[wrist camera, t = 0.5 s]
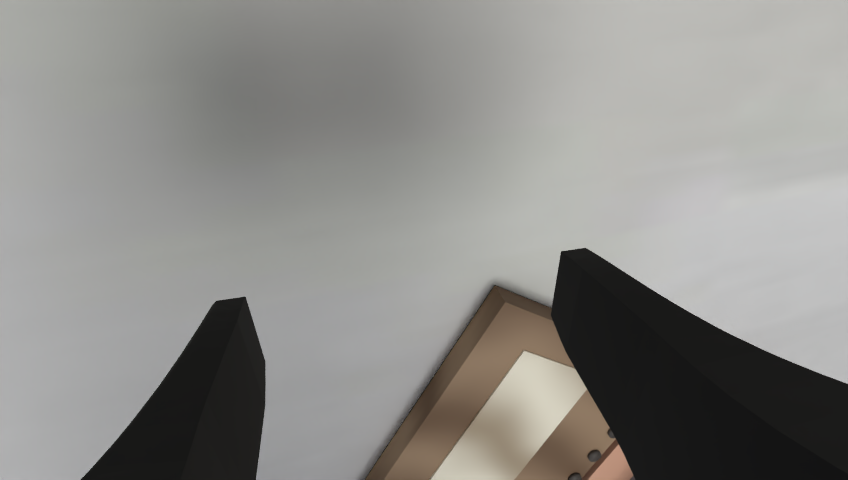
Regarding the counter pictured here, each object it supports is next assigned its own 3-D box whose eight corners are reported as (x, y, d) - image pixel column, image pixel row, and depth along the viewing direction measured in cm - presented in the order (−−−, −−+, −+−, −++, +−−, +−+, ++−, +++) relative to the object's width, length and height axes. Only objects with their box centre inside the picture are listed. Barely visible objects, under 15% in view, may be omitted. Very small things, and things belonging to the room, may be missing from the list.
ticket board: (510, 529, 34) (519, 554, 33) (350, 501, 30) (352, 528, 28) (658, 352, 29) (677, 372, 28) (494, 285, 25) (506, 304, 23)
